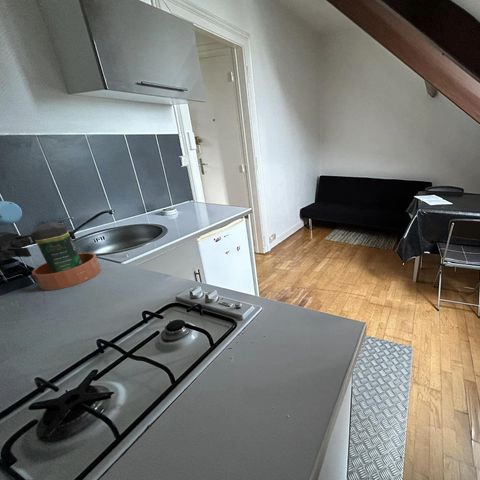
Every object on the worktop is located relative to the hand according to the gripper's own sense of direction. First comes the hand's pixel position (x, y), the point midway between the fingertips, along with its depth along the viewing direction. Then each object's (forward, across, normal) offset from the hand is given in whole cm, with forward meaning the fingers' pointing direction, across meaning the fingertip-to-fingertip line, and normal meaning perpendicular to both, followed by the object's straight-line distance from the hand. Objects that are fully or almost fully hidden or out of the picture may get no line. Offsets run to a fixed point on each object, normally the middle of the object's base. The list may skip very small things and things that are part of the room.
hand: (52, 243), depth 85 cm
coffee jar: (+1, 0, -12) cm, 12 cm away
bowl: (+1, 0, -13) cm, 13 cm away
